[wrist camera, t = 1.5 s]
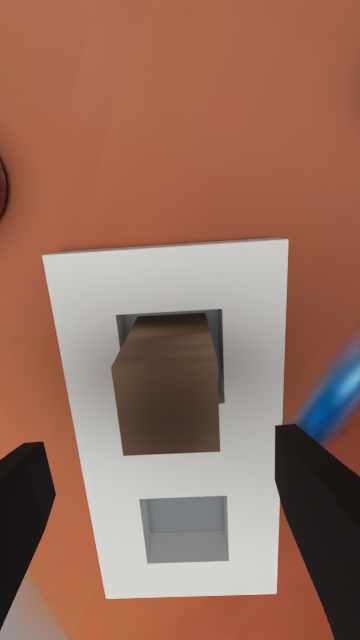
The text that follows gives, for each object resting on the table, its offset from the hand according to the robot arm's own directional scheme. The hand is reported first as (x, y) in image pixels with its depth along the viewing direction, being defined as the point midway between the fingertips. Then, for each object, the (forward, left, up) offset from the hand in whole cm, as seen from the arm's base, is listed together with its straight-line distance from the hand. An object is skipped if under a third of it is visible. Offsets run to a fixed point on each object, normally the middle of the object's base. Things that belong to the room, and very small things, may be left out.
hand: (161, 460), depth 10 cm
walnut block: (0, 0, -10) cm, 10 cm away
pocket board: (0, +6, -10) cm, 12 cm away
